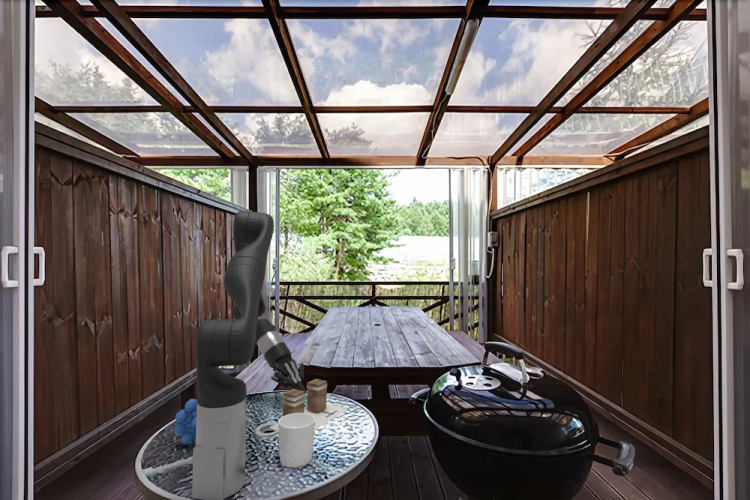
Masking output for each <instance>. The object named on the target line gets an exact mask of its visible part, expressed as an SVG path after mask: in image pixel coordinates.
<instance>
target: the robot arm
mask: <svg viewBox="0 0 750 500" xmlns="http://www.w3.org/2000/svg"><path fill="white" fill-rule="evenodd" d="M274 229H275V223H274V218H273V216H272V215H271V214H268V213H266V212H257V211H250V210H238V211H237V212H236V214H235V216H234V219H233V227H232V235H233V244H234V252H235V253H234V254H233V256H232V257H230V259H229V261H228V263H227V266H226V270H225V272H224V273H225V274H224V277H223V286H224V289H225V291H226V293H227V295H228V296H229V298H230V299H231V301H232V302H233V306H232V307H231V313H232V314H231V315H232V317H233V319H231V318H230V319H229V318H228V319H225V318H224V319H217V318H216V319H206V320H204V321H201V323H200V325H199V326H198V329H197V332H196V338H195V364H196V365H195V366H196V394H197V395H196V400H197V425H196V445H195V446H194V448H193V451H192V489H191V490H192V491H191V493H192V494H191V495H192V496H191V498H192V499H196V500H197V499H198V500H225V499H226V498H229V497H231V496H233V495H235V494H237V493H238V492H239V491H240V490H241V489H242V488H243V487H244V485H245V482H246V438H247V437H246V432H247V430H246V429H247V392H248V391H247V389H248V388H247V384H246V383H245V381H243V380H242V379H241V378H238V377H234V376H231V375H229V374H227V373H225V372H224V371H223V370H221V369H220V368H219V367H230V366H231V367H234V366H235V367H236V366H245V365H247V364H248V363H250V362H251V359H252V357H253V355H254V352H255V346H256V345H257V347H258V349H259V351H260V353H261V355H262V356H263V358H264V359H265V361H266V363H267V364H268V366H269V367H270V368H271V369H272V371H273V374H272V376H271V377H270V379H271V380H272V381H274V382H276V383H278V384H279V385H281V386H283V387H284V388H286V389H287V388H291V389H296V390H301V391H304V393H305V395H307V389H306V388H305V386H304V385H303V383H302V380H303V379H305V364H304V363H303V362H300V363H297V362H296V360H295V359H294V358H293V357H292V352H291V350H290V348H289V347H288V345H287V344H286V342H285V340H284V339H283V338H282V337H281V335H280V334H279V333H278V332H277V330H276V328H275V327H274V326H273V324H272V322H271V321H270V320H269V319H267V318H261V319H258V318H260V317H262V316H263V315H264V314H265V312H266V303H265V301H264V297H263V293H262V291H263V286H264V281H265V277H266V271H267V270H266V269H267V260H268V254H269V250H270V246H271V242H272V239H273V235H274ZM247 243H248V245H247Z"/></svg>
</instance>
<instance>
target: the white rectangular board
mask: <svg viewBox="0 0 750 500" xmlns="http://www.w3.org/2000/svg"><path fill="white" fill-rule="evenodd" d="M348 410H349V408H346V407H343V406H338V405H334V404H330V403H326V409H325V410H323V411H321V412H319V413H315V412H311V411H307V407H306V408H304V413H307V414H310V415H312V416H313V417H314V418H315V425H314V431H316V430H318V428H320V427H321V426H323V425H325V424H327V423H328V422H330V421H331V420H333V419H335V418H336V417H338V416H339V415H341V414H343V413H345V412H346V411H348ZM269 429H271V430H274V431H278V432H279V422H277V423H275V424H273V425H271V426H269Z"/></svg>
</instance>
